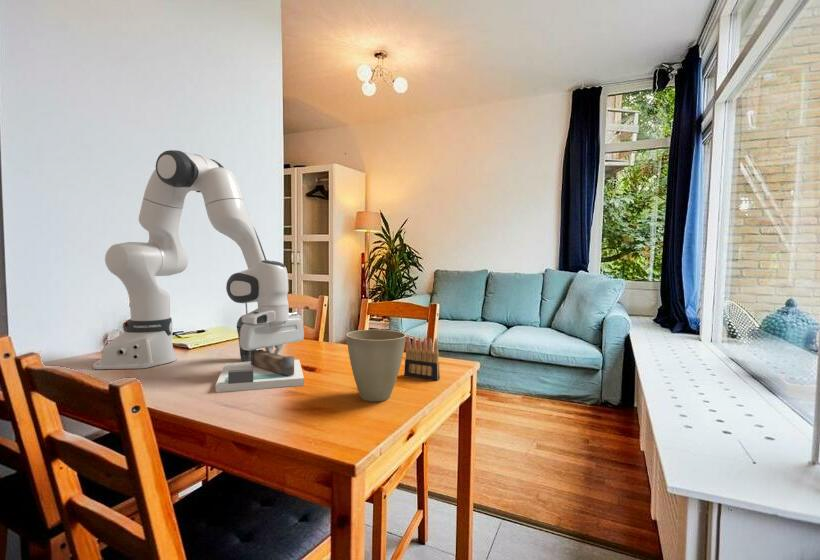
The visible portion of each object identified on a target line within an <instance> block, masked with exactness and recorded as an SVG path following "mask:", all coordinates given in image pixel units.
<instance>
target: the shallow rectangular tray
mask: <svg viewBox="0 0 820 560" xmlns="http://www.w3.org/2000/svg"><path fill="white" fill-rule="evenodd" d="M302 386H305V376H304V374H303V370H302V365H301V362H300V359H294V374H293V375H288V376H285V375H282V374H280V373H277V372H273V371H270V370H267V369H264V368H261V367H257V366H252V365H251V361H250V362H238V363H237V362H236V363H225V364H224V366H223V368H222V370H221V371H220V374H219V376H218V378H217V381H216V383H215V393H227V392H240V391H251V390H262V389H263V390H264V389H275V388H289V387H302Z"/></svg>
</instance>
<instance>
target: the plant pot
mask: <svg viewBox="0 0 820 560" xmlns="http://www.w3.org/2000/svg"><path fill="white" fill-rule="evenodd" d="M346 342H347V349H348V351H347V352H348V357H349V361H350V366H351V371H352V375H353V377H354V382H355V385H356V388H357V391H358V395H359V396H360V399H362V400H364V401H367V402H372V403H373V402H374V403H375V402H384V401H387V400H388V399H390V398H391V395H392V393H393V390H394V388H395V385H396V382H397V379H398V376H399V372H400V369H401V365H402V361H403V357H404V351H405V348H406V347H405V345H406V342H407V334H406V333H405V332H402V331H397V330H391V329H389V330H388V329H360V330H353V331H350V332H347V333H346Z"/></svg>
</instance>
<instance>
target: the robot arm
mask: <svg viewBox="0 0 820 560" xmlns="http://www.w3.org/2000/svg"><path fill="white" fill-rule="evenodd" d="M194 191H195V192H196V193H201V195H202V198H203V201H204V206H205V212H206V214H207V218H208V220H209V221H210V224H211V226H212V227H213V228H214V230H216V231H217V232H219V233H221V234H222V235H224V236H226V237H228V238H229V239H231V240H232V241H233V242H235V243H236V244H237V245H238V246H239V248H240V250H241V252H242V255H243V258H244V261H245V264H246V267H247V269H245V270H242V271H238V272H235V273H233V274H231V275H230V276H229V277H228V279H227V282H226V287H225V288H226V293H227V296H228V298H230V300H232V301H233V303H237V304H245V303H247V304H249V303H251V304H252V303H257V308H255V309H254V310H252V311H250V312H248V313H247V314H246V313H245V314H243V315H241V316H242V322H244V324H243V325H242V327H241V330H240V347H241V348H242V349H244V350H248V351H249V350H254V349H256V350H261V349H264V351H267V352H270V353H274V354H278V355H281V354H280V353H281V351H282V349H283V345H288V344H291V343H292V344H293V343H297V342H298V343H299V342H302V341H303V340H304V337H305V331H304V329H305V328H304V324H303V316H302V314H301V313H299V312H298V311H294V312H289V311H290V309H289V307H290V303H289V300H288V293H289V289H290V288H289V275H288V270H287V267H286V265H285V264H284V263H282V262H280V261H275V260H269V259H268V260H267V258H266V254H265V252H264V249H263V246H262V243H261V241H260V238H259V236H258V232H257V231H256V229H255V226H254V224H253V222H252V221H251V218H250V215H249V213H248V210H247V207H246V206H247V205H246V203H245V199H244V196H243V193H242V189H241V187H240V185H239V182H238V180H237V178H236V176H235V174H234V173H233V172H232V170H230V169H228V168H226V167H224V165H222V164H221V163H219V162H218V161H216V160H215V159H211V158H208V157H205V156H203V155H200V154H196V153H190V152H183V151H181V150H176V149H175V150H173V149H172V150H171V149H169V150H166V151H163V152H162V153H161V154H160V155H159V156H158V157H157V159H156V162H155V169H154V170H153V171H152V172H151V175H150V178H149V180H148V182H147V183H146V187H145V190H144V194H143V198H142V201H141V204H140V205H141V206H140V210H139V215H138V222H139V224H140V226H141V227H142V228H143V229H144V230H146V231H147V233H148V238H149V239H148V241H147V242H139V241H136V242H135V241H126V242H120V243H115V244H113V245H111V246H110V247H109V248H108V249H107V250H106V252H105V255H104V257H105V258H104V261H105V262H104V263H105V266H106V268H107V269H108V271H109V272H110V273H111V274H113V275H114V276H115V277H117V278H118V279H119V280H120V281H121V283H122V284H123V285H124V287H125V289H126V292H127V294H128V301H129V310H130V318H129V319H127V320H126V321H125V322H123V323H122V327H121V328H123V332H121V333H120V334H119V335H118V336H116V337H114V338H113V339H112V340H111V341H109V342H108V343H107V344H106V345H105V346H104V348H103V351H102V354H101V359H98V360H96V362H94V363H93V365H92V368H93V370H120V369H121V370H123V369H124V370H125V369H128V370H129V369H133V370H134V369H135V370H136V369H147V368H151V367H155V366H161V365H164V364H168V363H172V362H174V361H176V360H177V355H176V354H175V349H174V346H173V340H172V333H173V319H172V317H171V296H170V294H169V293H168V292H167V291H166V290H165V289H162V288H161V287H160V286H159V285H158V283H157V280H156V277H168V276H169V277H170V276H173V275H174V276H175V275H177V274H180V273H182V272H184V271H185V270H186V269H187V267H188V264H189V255H188V253H187V251H186V250H185V248H184V247H182V244H181V242H180V238H179V226H180V221H181V216H182V213H183V208H184V203H185V199H186V196H187V194H189V192H194ZM240 347H239V348H240ZM274 348H275V349H274ZM273 350H274V351H273Z"/></svg>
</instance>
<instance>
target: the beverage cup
mask: <svg viewBox="0 0 820 560" xmlns="http://www.w3.org/2000/svg"><path fill="white" fill-rule="evenodd" d="M244 304H245V314H247V313H249V312H248V303H244ZM242 316H243V315H241V316H240V317H238V318H239V319H238V320H237V322H236V331H237V335H238V337H237V338H238V345H239V356H240V361H241V362H243V361H250V362H251V351H255V350H257V349H254V350H249V351H248V350H244V349H242V348H241V347H240V330H241V327H242V325H243V324H244V322H242Z"/></svg>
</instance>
